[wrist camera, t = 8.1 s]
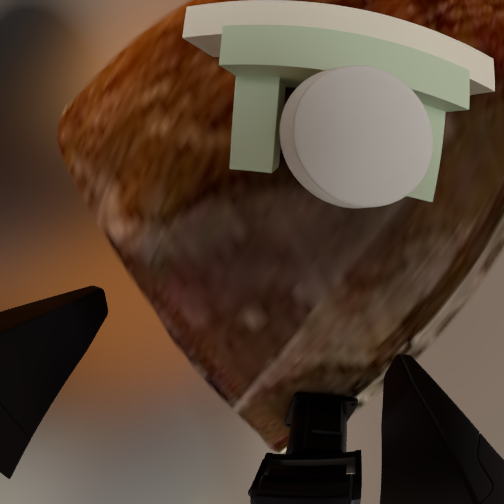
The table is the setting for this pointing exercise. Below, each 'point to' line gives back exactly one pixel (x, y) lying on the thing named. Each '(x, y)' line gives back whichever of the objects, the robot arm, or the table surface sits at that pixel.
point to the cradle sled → (317, 60)
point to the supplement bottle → (356, 137)
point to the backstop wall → (335, 18)
